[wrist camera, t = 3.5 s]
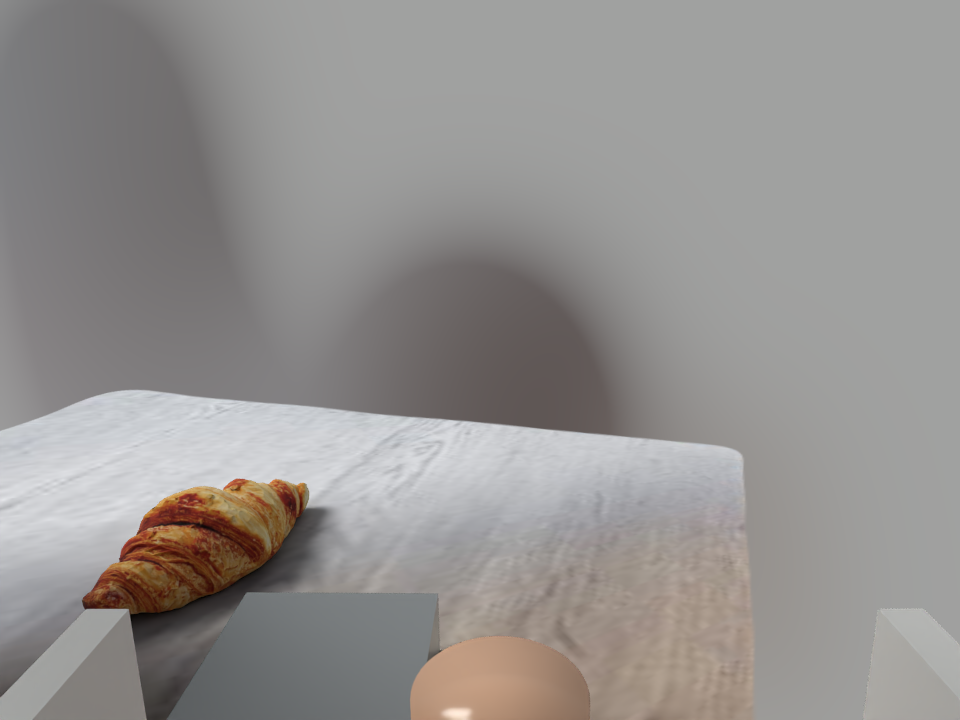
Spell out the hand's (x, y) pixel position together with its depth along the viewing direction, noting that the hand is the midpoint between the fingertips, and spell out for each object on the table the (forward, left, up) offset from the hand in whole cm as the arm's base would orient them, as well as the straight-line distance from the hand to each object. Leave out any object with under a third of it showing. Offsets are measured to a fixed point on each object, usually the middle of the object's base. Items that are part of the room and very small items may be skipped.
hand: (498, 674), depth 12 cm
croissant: (-22, +38, -21) cm, 48 cm away
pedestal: (-10, +21, -20) cm, 31 cm away
